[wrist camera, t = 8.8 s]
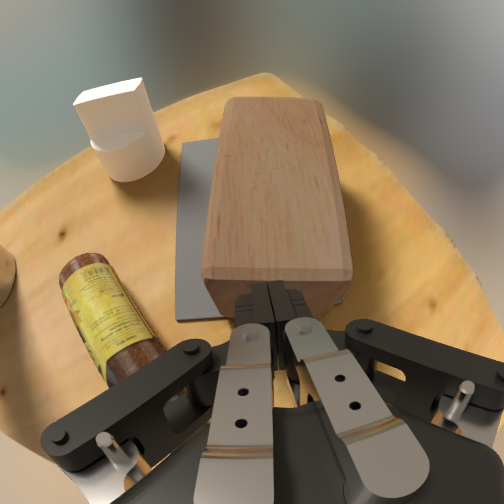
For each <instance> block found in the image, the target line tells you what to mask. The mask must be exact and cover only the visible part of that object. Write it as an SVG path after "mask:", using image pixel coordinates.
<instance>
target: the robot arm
mask: <svg viewBox="0 0 504 504" xmlns="http://www.w3.org/2000/svg"><path fill="white" fill-rule="evenodd" d="M15 272H16V265H15V260H14V257H13V255H12V254H11V253H10V252H8V251H7V250H6V249H5V248H3V247H2V246H1V245H0V306H1V305H2V304H3V303H4V302H5V301H6V299H7V298H8V296H9V294H10V292H11V289H12V286H13V283H14V279H15ZM250 288H251V294H241V295H239V296H238V297H237V298H236V300H235V329H234V330H233V331H232V333H231V336H230V340H229V341H227V342H225V343H223V344H221V345H218V346H214V347H211V346H210V344H209V343H208V342H207V341H205V340H202V339H189V340H185V341H182V342H180V343H179V344H177V345H175V346H174V347H172V348H171V349H169V350H168V351H166V352H165V353H163V354H162V355H160V356H159V357H157V358H156V359H154V360H153V361H151V362H150V363H148V364H147V365H145V366H144V367H142V368H141V369H139V370H138V371H136V372H135V373H133V374H131V375H130V376H128V377H127V378H125V379H124V380H122V381H121V382H119V383H117V384H116V385H114V386H113V387H111V388H109V389H108V390H106V391H105V392H103V393H102V394H100V395H98V396H97V397H95V398H94V399H92V400H90V401H89V402H87V403H85V404H84V405H82V406H81V407H79V408H77V409H76V410H74V411H72V412H71V413H69V414H67V415H66V416H64V417H62V418H61V419H59V420H57V421H56V422H54V423H52V424H51V425H49V426H48V427H47V428H46V429H45V430H44V432H43V434H42V436H41V445H42V448H43V449H44V451H45V452H46V453H47V454H48V455H49V456H50V457H51V458H52V459H53V460H54V461H55V462H56V464H57V465H58V467H59V468H60V469H61V470H62V471H63V472H64V473H65V474H66V475H67V476H68V477H69V478H70V479H71V480H73V481H74V483H75V484H76V485H77V487H78V488H79V489H80V491H81V492H82V493H83V495H84V496H85V497H86V499H87V500H88V501H89V503H90V504H504V465H503V463H502V460H501V458H500V457H499V455H498V454H497V453H496V452H495V451H494V450H493V449H492V446H493V442H494V439H495V436H496V433H497V429H498V426H499V422H500V419H501V415H502V412H503V411H504V363H503V362H500V361H496V360H493V359H490V358H486V357H483V356H480V355H477V354H473V353H470V352H467V351H464V350H461V349H457V348H454V347H451V346H448V345H445V344H442V343H439V342H436V341H433V340H430V339H426V338H423V337H420V336H417V335H414V334H411V333H408V332H405V331H402V330H399V329H396V328H393V327H390V326H387V325H385V324H382V323H379V322H376V321H373V320H368V319H358V320H354V321H352V322H350V323H349V324H348V325H347V326H346V329H345V331H331V330H326V329H325V328H324V326H323V325H322V323H321V322H320V321H318V320H316V319H314V318H313V316H312V314H311V312H310V310H309V307H308V305H307V303H306V301H305V299H304V296H303V294H302V293H301V292H300V291H298V290H297V289H286V287H285V285H284V282H283V280H274V281H267V285H266V281H265V282H256V283H250ZM277 360H278V365H279V370H283V369H286V373H287V385H288V388H289V391H290V394H291V398H292V401H293V404H294V407H295V408H279V407H274V386H273V381H274V378H275V376H274V371H276V370H278V366H277ZM378 361H379V362H382V363H384V364H387V365H389V366H392V367H394V368H397V369H399V370H401V371H402V372H403V373H404V374H405V376H406V381H402V380H400V379H397V378H395V377H392V376H390V375H387V374H385V373H382V372H380V371H378V370H376V367H377V362H378ZM182 389H184V391H185V393H184V394H182V395H181V396H180V397H178V398H177V399H176V400H175V401H173V402H172V403H171V404H169V405H168V406H167V407H166V408H164V406H165V404H166V402H167V401H168V400H169V399H171V398H172V397H173V396H174V395H176V394H177V393H178V392H180V391H181V390H182ZM211 417H212V418H211ZM210 418H211V423H209V424H207V425H205V426H204V427H202V428H200V427H201V426H202V425H204V424H205V423H206V422H207V421H208V420H209V419H210ZM199 428H200V429H199ZM198 429H199V430H198ZM194 432H195V433H194ZM186 439H187V440H186ZM185 440H186V441H185ZM184 441H185V442H184ZM183 442H184V443H183ZM180 444H181V445H180ZM179 445H180V446H179ZM178 446H179V447H178ZM177 447H178V448H177ZM176 448H177V449H176ZM174 449H176V450H175V451H174V452H172V451H173V450H174ZM171 452H172V453H171ZM170 453H171V454H170ZM168 454H170V455H169V456H168V457H167V458H166V459H164V460H163V461H162V462H161V463H160V464H159V465H157V466H156V467H155V468H154V469H153V470H152V471H151V468H152V467H153V466H155V465H156V464H157V463H158V462H160V461H161V460H162V459H163V458H165V457H166V456H167V455H168Z"/></svg>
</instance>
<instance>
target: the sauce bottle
mask: <svg viewBox="0 0 504 504" xmlns="http://www.w3.org/2000/svg"><path fill="white" fill-rule="evenodd" d="M59 284H60V287H61V290H62V296H63V299H64V301H65V303H66V306H67V308H68V311H69V313H70V315H71V317H72V319H73V322H74V324H75V326H76V328H77V330H78V332H79V334H80V337H81V338H82V340H83V342H84V344H85V347H86V349H87V350H88V352H89V354H90V356H91V358H92V360H93V361H94V363H95V365H96V367H97V368H98V371H99V372H100V374H101V375H102V377H103V379H104V381H105V382H106V384H107V386H108V387H109V388H111V387H113V386H114V385H116V384H117V383H119V382H121V381H122V380H124V379H125V378H127V377H128V376H130V375H131V374H133V373H135V372H136V371H138V370H139V369H141V368H142V367H144V366H145V365H147V364H148V363H150V362H151V361H153V360H154V359H156V358H157V357H159V356H160V355H162V354H163V353H165V351H164V350H163V348H162V347H161V346H160V344H159V342H158V339H157V337H156V336H155V334H154V333H153V331H152V330H151V328H150V327H149V325H148V324H147V322H146V321H145V319H144V318H143V316H142V315H141V313H140V312H139V310H138V308H137V307H136V305H135V304H134V302H133V300H132V299H131V297H130V295H129V294H128V292H127V291H126V289H125V287H124V286H123V284H122V282H121V280H120V279H119V277H118V275H117V273H116V272H115V270H114V268H113V267H112V266H110V264H109V262H108V260H107V259H106V258H105V257H104V256H103V255H101V254H97V253H85V254H81V255H79V256H76V257H75V258H73V259H72V260H71V261H69V262H68V263H67V264H66V265H65V266H64V268H63V269H62V271H61V273H60V277H59ZM180 396H181V395H180V394H179V392H178V393H177V394H176V395H174V396H173V397H172V398H171V399H169V400H168V401H167V402H166V404H165V406H164V408H166V407H167V406H168V405H169V404H171V403H172V402H173V401H175V400H176V399H177V398H178V397H180ZM205 425H207V423H205V424H204V425H202V426H201V427H200V428H202V427H204V426H205ZM200 428H199V429H200ZM199 429H198V430H199ZM194 433H195V432H194ZM186 440H187V439H186ZM186 440H185V441H186ZM185 441H184V442H185ZM184 442H183V443H184ZM180 445H181V444H180ZM180 445H179V446H180ZM179 446H178V447H179ZM178 447H177V448H178ZM177 448H176V449H177ZM176 449H174V450H173V451H172V452H174V451H175V450H176ZM172 452H171V453H172Z"/></svg>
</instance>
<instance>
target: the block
mask: <svg viewBox="0 0 504 504" xmlns="http://www.w3.org/2000/svg"><path fill="white" fill-rule="evenodd" d="M200 273H201V276H202V279H203V282H204V284H205V286H206V288H207V290H208V292H209V294H210V296H211V298H212V300H213V302H214V303H215V305H216V307H217V309H218V311H219V313H220V314H221V315H223V316H225V317H227V318H235V300H236V298H237V297H238V296H239V295H241V294H251V288H250V283H256V282H265V281H266V285H267V281H274V280H283V282H284V285H285V287H286V289H297V290H298V291H300V292H301V293H302V294H303V296H304V299H305V301H306V303H307V305H308V307H309V310H310V312H311V314H312V316H313V318H314V319H319V318H321V317H323V316H325V315H326V314H327V313H328V312H329V311H330V310H331V308H332V307H333V306H334V305H335V304H336V302H337V301H338V300H339V299H340V297H341V296H342V295H343V294H344V293H345V291H346V290H347V289H348V288H349V286H350V285H351V282H352V279H353V276H354V272H353V264H352V256H351V248H350V241H349V234H348V227H347V221H346V214H345V208H344V202H343V197H342V191H341V186H340V181H339V176H338V171H337V166H336V161H335V156H334V152H333V147H332V143H331V138H330V134H329V130H328V126H327V122H326V118H325V114H324V110H323V107H322V104H321V102H320V101H318V100H315V99H310V98H309V99H308V98H293V97H233V98H230V99H228V100H227V102H226V105H225V108H224V113H223V119H222V125H221V130H220V136H219V142H218V148H217V154H216V160H215V166H214V173H213V179H212V186H211V193H210V200H209V207H208V214H207V222H206V230H205V238H204V246H203V254H202V263H201V272H200Z"/></svg>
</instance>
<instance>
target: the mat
mask: <svg viewBox="0 0 504 504" xmlns="http://www.w3.org/2000/svg"><path fill="white" fill-rule="evenodd" d="M218 142H219V138H217V139H209V140H201V141H194V142H187V143H182V153H181V164H180V177H179V191H178V207H177V227H176V259H175V320H192V319H206V318H219V317H225V316H223V315H221V314H220V313H219V311H218V309H217V307H216V305H215V303H214V302H213V300H212V298H211V296H210V294H209V292H208V290H207V288H206V286H205V284H204V282H203V279H202V276H201V273H200V272H201V263H202V254H203V246H204V238H205V230H206V222H207V214H208V207H209V200H210V193H211V186H212V179H213V173H214V166H215V160H216V154H217V148H218ZM339 303H343V300H342V296H341V297H340V299H339V300H338V301H337V302H336V304H339Z"/></svg>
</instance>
